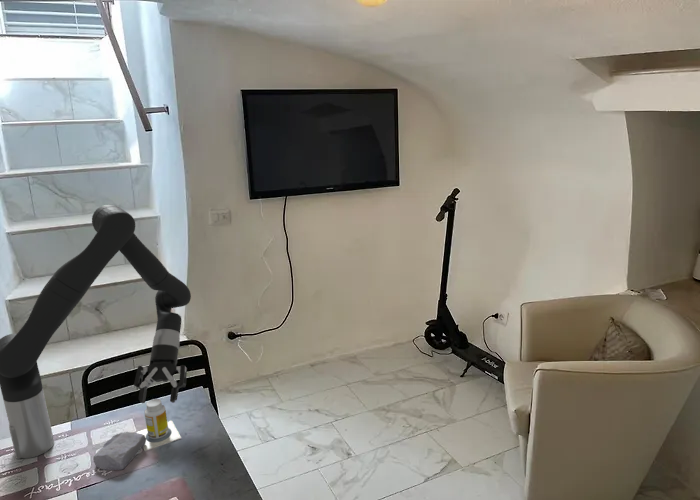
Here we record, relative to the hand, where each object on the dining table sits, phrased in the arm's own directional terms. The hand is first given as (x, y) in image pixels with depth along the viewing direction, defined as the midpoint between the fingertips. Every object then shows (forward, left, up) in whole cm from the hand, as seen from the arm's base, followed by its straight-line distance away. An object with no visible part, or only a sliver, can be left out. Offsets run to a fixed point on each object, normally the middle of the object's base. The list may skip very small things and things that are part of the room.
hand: (157, 402), depth 152 cm
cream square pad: (-1, -2, -9) cm, 10 cm away
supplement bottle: (-1, -2, -9) cm, 9 cm away
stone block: (-12, -5, -9) cm, 16 cm away
